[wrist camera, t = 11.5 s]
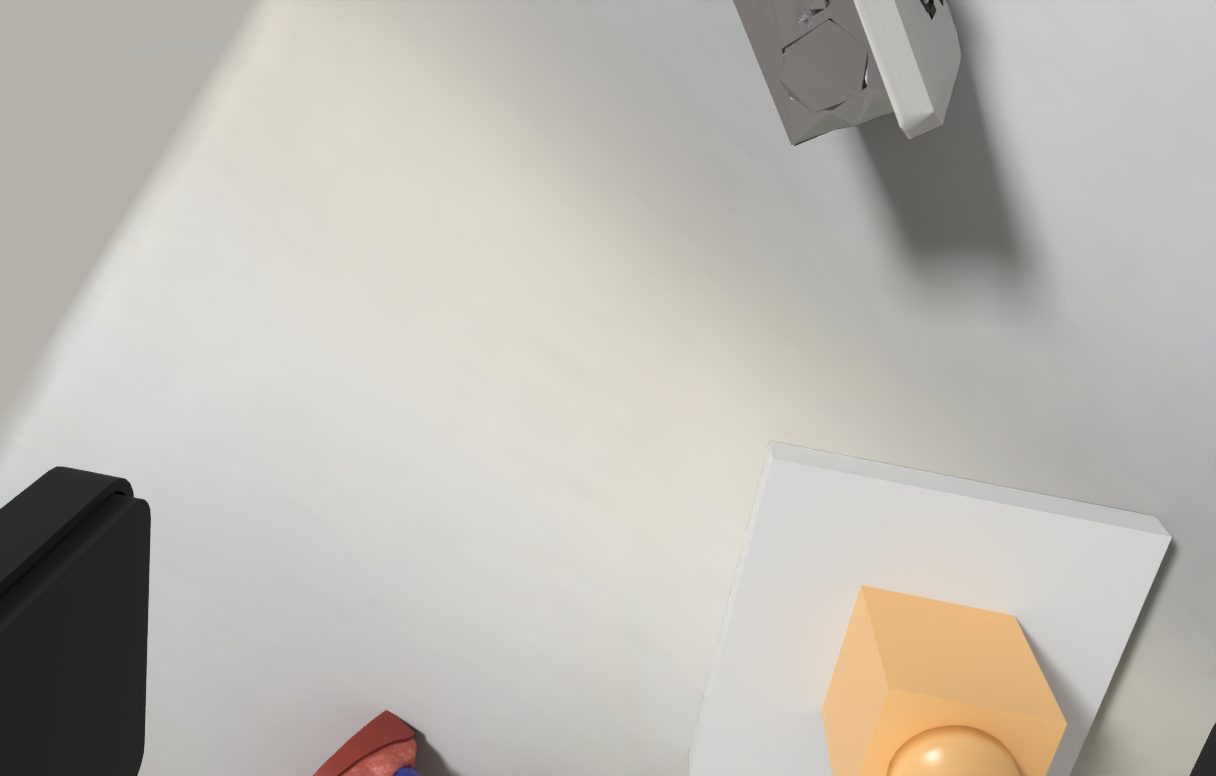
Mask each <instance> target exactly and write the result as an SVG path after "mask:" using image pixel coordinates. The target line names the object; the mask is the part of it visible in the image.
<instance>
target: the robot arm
mask: <svg viewBox="0 0 1216 776" xmlns="http://www.w3.org/2000/svg"><path fill="white" fill-rule="evenodd" d="M150 528H151V515H150V508H149V505H148V503H147V502H146V501H145V500H143V499H138V498H134V494H133V490H132V487H131V484H130V483H129V482H128V481H127V480H126V479H124V478H119V477H114V476H109V475H104V474H99V473H94V472H89V471H84V470H78V469H73V468H68V467H58V466H57V467H55V468H53V469H51V470H49V471H48V472H47V473H45V474H44V475H43V476H42V477H40V478H39V479H38V480H37V481H35V482H34V483H33V484H31V485H30V486H29V487H28V488H26V489H25V490H24V491H23V492H21V493H20V494H19V495H18V496H16V497H15V498H14V499H12V500H11V501H10V502H9V503H7V504H6V505H5V506H4V507H2V508H1V509H0V776H137V775H138V772H139V769H140V766H141V762H142V758H143V754H144V743H145V707H146V671H147V635H148V599H149V563H150ZM1190 776H1216V723H1215V725H1214V726H1213V728H1212V730H1211V732H1210V734H1209V736H1208V738H1207V741H1206V743H1205V745H1204V747H1203V749H1202V751H1201V753H1200V755H1199V757H1198V759H1197V761H1196V764H1195V766H1194V768H1193V770H1192V772H1191V774H1190Z"/></svg>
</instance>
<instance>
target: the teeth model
mask: <svg viewBox="0 0 1216 776" xmlns="http://www.w3.org/2000/svg"><path fill="white" fill-rule="evenodd" d="M414 735H415V732H414V731H413V730H412V729H410V728H409V727H408V726H407V725H406V724H405V723H404V722H403V721H402V720H401V719H400V718H399V717H397V716H396V715H394V714H393V713H391V712H389V711H387V710H385V711H384V712H383V713H381V714H380V715H379V716H377V717H376V718H375V719H373V720H372V721H371V722H369V723H368V724H367V725H366V726H365V727H363V728H362V729H361V730H360V731H359V732H357V733H356V734H355V735H354V736H353V737H352V738H351V739H349V740H348V741H347V742H346V743H345V744H344V745H343V746H342V747H341V748H340V749H339V750H338V751H337V752H336V753H335V754H334V755H333V756H332V757H331V758H329V759H328V760H327V761H326V762H325V763H324V764H323V765H322V766H321V767H320V768H319V769H318V771H317V772H316V773H315V774H314V775H313V776H421V775H420V774H419V773H418V771H417V770H415V769H414V767H415V760H416V753H417V743H416V740H415V739H414V738H413V736H414Z"/></svg>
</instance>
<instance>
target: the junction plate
mask: <svg viewBox="0 0 1216 776" xmlns="http://www.w3.org/2000/svg"><path fill="white" fill-rule="evenodd" d="M1171 538H1172V536H1171V535H1170V534H1169V533H1168V532H1167V530H1166V529H1165V528H1164V527H1163V526H1162V524H1161V523H1160V522H1159V521H1158V519H1157V518H1156V517H1155V516H1150V515H1145V514H1140V513H1135V512H1130V511H1125V510H1120V509H1114V508H1109V507H1104V506H1099V505H1094V504H1089V503H1084V502H1079V501H1074V500H1069V499H1064V498H1058V497H1053V496H1048V495H1043V494H1038V493H1033V492H1028V491H1023V490H1018V489H1013V488H1008V487H1002V486H997V485H992V484H987V483H982V482H977V481H972V480H967V479H962V478H957V477H952V476H946V475H941V474H936V473H931V472H926V471H921V470H916V469H911V468H906V467H901V466H896V465H891V464H885V463H880V462H875V461H870V460H865V459H860V458H855V457H850V456H845V455H840V454H835V453H829V452H824V451H819V450H814V449H809V448H804V447H799V446H794V445H789V444H784V443H779V442H773V441H770V442H769V446H768V450H767V454H766V457H765V461H764V465H763V469H762V473H761V477H760V480H759V484H758V488H757V492H756V496H755V500H754V504H753V507H752V511H751V515H750V519H749V523H748V527H747V530H746V534H745V538H744V542H743V546H742V550H741V553H740V557H739V561H738V565H737V569H736V573H735V576H734V580H733V584H732V588H731V592H730V596H729V600H728V603H727V607H726V611H725V615H724V619H723V623H722V626H721V630H720V634H719V638H718V642H717V646H716V649H715V653H714V657H713V661H712V665H711V669H710V673H709V676H708V680H707V684H706V688H705V692H704V696H703V699H702V703H701V707H700V711H699V715H698V719H697V722H696V726H695V730H694V734H693V738H692V742H691V746H690V749H689V776H833V775H832V769H831V764H830V758H829V752H828V746H827V740H826V734H825V728H824V722H823V716H822V707H823V704H824V701H825V698H826V694H827V691H828V688H829V685H830V682H831V679H832V676H833V672H834V669H835V666H836V663H837V660H838V657H839V653H840V650H841V647H842V644H843V641H844V638H845V635H846V631H847V628H848V625H849V622H850V619H851V616H852V612H853V609H854V606H855V603H856V600H857V597H858V594H859V590H860V587H861V585H864V586H869V587H874V588H879V589H884V590H889V591H894V592H899V593H904V594H909V595H914V596H919V597H924V598H929V599H934V600H939V601H944V602H949V603H954V604H959V605H964V606H969V607H974V608H979V609H984V610H989V611H994V612H999V613H1004V614H1009V615H1014V616H1015V618H1016V620H1017V622H1018V624H1019V626H1020V628H1021V630H1022V632H1023V634H1024V636H1025V638H1026V640H1027V642H1028V644H1029V646H1030V648H1031V650H1032V653H1033V655H1034V657H1035V659H1036V661H1037V663H1038V665H1039V667H1040V669H1041V671H1042V673H1043V675H1044V677H1045V679H1046V681H1047V683H1048V685H1049V687H1050V689H1051V691H1052V693H1053V696H1054V698H1055V700H1056V702H1057V704H1058V706H1059V708H1060V710H1061V712H1062V714H1063V716H1064V718H1065V720H1066V722H1067V726H1066V728H1065V731H1064V733H1063V736H1062V738H1061V740H1060V743H1059V745H1058V747H1057V750H1056V752H1055V754H1054V757H1053V759H1052V762H1051V764H1050V766H1049V769H1048V771H1047V773H1046V776H1070V775H1071V772H1072V770H1073V767H1074V765H1075V763H1076V760H1077V758H1078V756H1079V753H1080V751H1081V749H1082V746H1083V744H1084V742H1085V739H1086V737H1087V735H1088V732H1089V730H1090V728H1091V725H1092V723H1093V721H1094V718H1095V716H1096V714H1097V711H1098V709H1099V707H1100V704H1101V702H1102V700H1103V697H1104V695H1105V693H1106V690H1107V688H1108V686H1109V683H1110V681H1111V679H1112V676H1113V674H1114V672H1115V669H1116V667H1117V665H1118V662H1119V660H1120V658H1121V655H1122V653H1123V651H1124V648H1125V646H1126V643H1127V641H1128V639H1129V636H1130V634H1131V632H1132V629H1133V627H1134V625H1135V622H1136V620H1137V618H1138V615H1139V613H1140V611H1141V608H1142V606H1143V604H1144V601H1145V599H1146V597H1147V594H1148V592H1149V590H1150V587H1151V585H1152V583H1153V580H1154V578H1155V576H1156V573H1157V571H1158V569H1159V566H1160V564H1161V562H1162V559H1163V557H1164V555H1165V552H1166V550H1167V548H1168V545H1169V543H1170V541H1171Z"/></svg>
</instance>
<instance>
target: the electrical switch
mask: <svg viewBox="0 0 1216 776" xmlns="http://www.w3.org/2000/svg"><path fill="white" fill-rule="evenodd" d="M733 1H734V3H735V6H736V8H737V11H738V13H739V16H740V18H741V21H742V23H743V26H744V28H745V31H746V33H747V36H748V38H749V41H750V43H751V46H752V48H753V50H754V53H755V55H756V58H757V60H758V63H759V65H760V68H761V70H762V73H763V75H764V78H765V80H766V83H767V85H768V88H769V90H770V93H771V95H772V98H773V100H774V103H775V105H776V108H777V110H778V113H779V115H780V117H781V120H782V122H783V125H784V127H785V130H786V132H787V135H788V137H789V140H790V142H791V145H793V144H795V145H794V146H796V145H798V144H801V143H803V142H805V141H808V140H810V139H813V138H815V137H818V136H820V135H822V134H825V133H827V132H830V131H832V130H835V129H840V128H846V127H851V126H856V125H859V124H862V123H864V122H867V121H869V120H871V119H874V118H876V117H879V116H882V115H886V114H889V113H892V112H895V115H896V118H897V120H898V123H899V126H900V128H901V129H902V131H903V132H904V134H905V135H906V136H907V138H908V139H909V140H910V139H912V138H914V137H916V136H918V135H920V134H923V133H925V132H927V131H930V130H932V129H934V128H937V127H939V126H941V125H943V122H944V119H945V115H946V112H947V108H948V105H949V101H950V98H951V94H952V91H953V87H954V84H955V80H956V77H957V73H958V69H959V66H960V62H961V59H962V57H961V51H960V45H959V39H958V33H957V31H956V28H955V25H954V22H953V19H952V16H951V13H950V10H949V7H948V4H947V1H946V0H733ZM806 10H811V11H812V14H813V16H811V17H810V18H808V19H806V20H804V21H802V22H800V23H799V24H797V23H798V22H799V20H800V18H801V17H802V15H803V14H804V12H805V11H806ZM783 54H784V57H783ZM790 97H792V98H793V99H795V100H792V99H790Z"/></svg>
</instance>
